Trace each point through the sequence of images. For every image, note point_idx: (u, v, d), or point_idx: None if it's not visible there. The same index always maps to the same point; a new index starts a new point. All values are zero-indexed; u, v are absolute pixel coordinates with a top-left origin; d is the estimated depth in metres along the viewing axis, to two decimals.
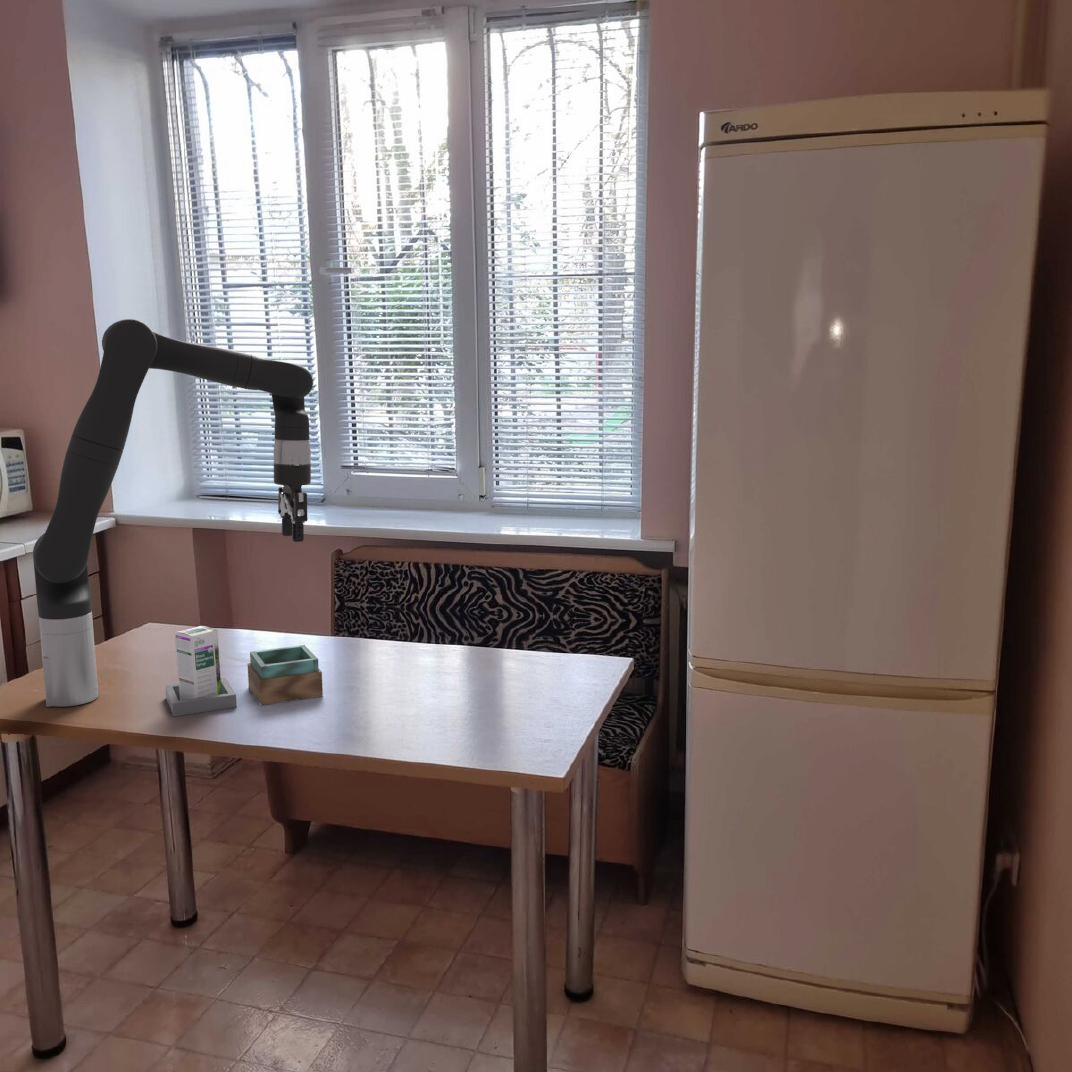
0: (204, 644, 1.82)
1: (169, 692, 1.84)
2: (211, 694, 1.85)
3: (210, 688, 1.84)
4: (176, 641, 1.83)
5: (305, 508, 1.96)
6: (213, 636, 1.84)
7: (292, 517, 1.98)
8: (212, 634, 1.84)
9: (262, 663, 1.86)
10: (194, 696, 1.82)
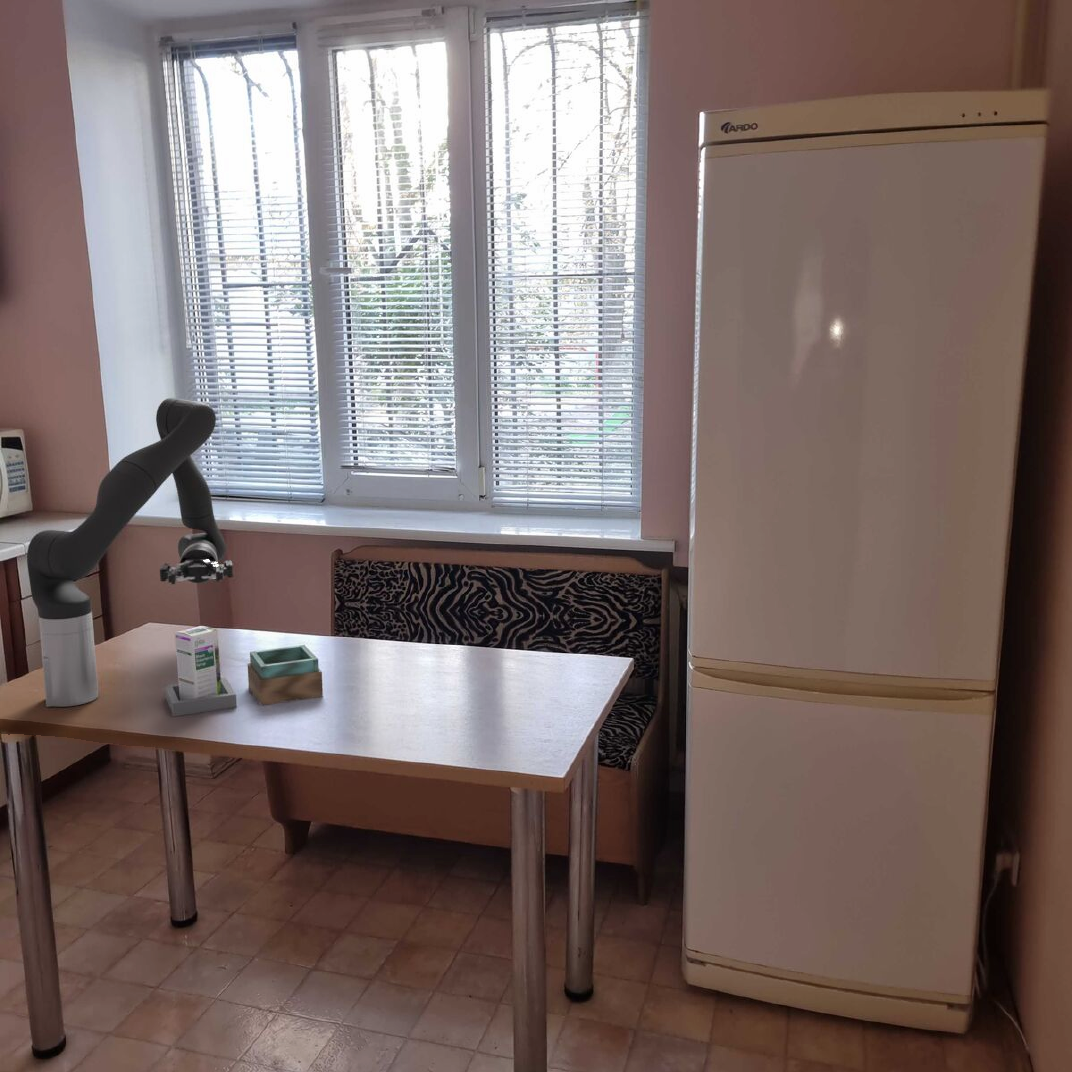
0: (205, 644, 1.82)
1: (169, 692, 1.84)
2: (211, 694, 1.85)
3: (210, 688, 1.84)
4: (176, 641, 1.83)
5: None
6: (213, 636, 1.84)
7: (219, 565, 2.00)
8: (212, 634, 1.84)
9: (262, 663, 1.86)
10: (194, 696, 1.82)
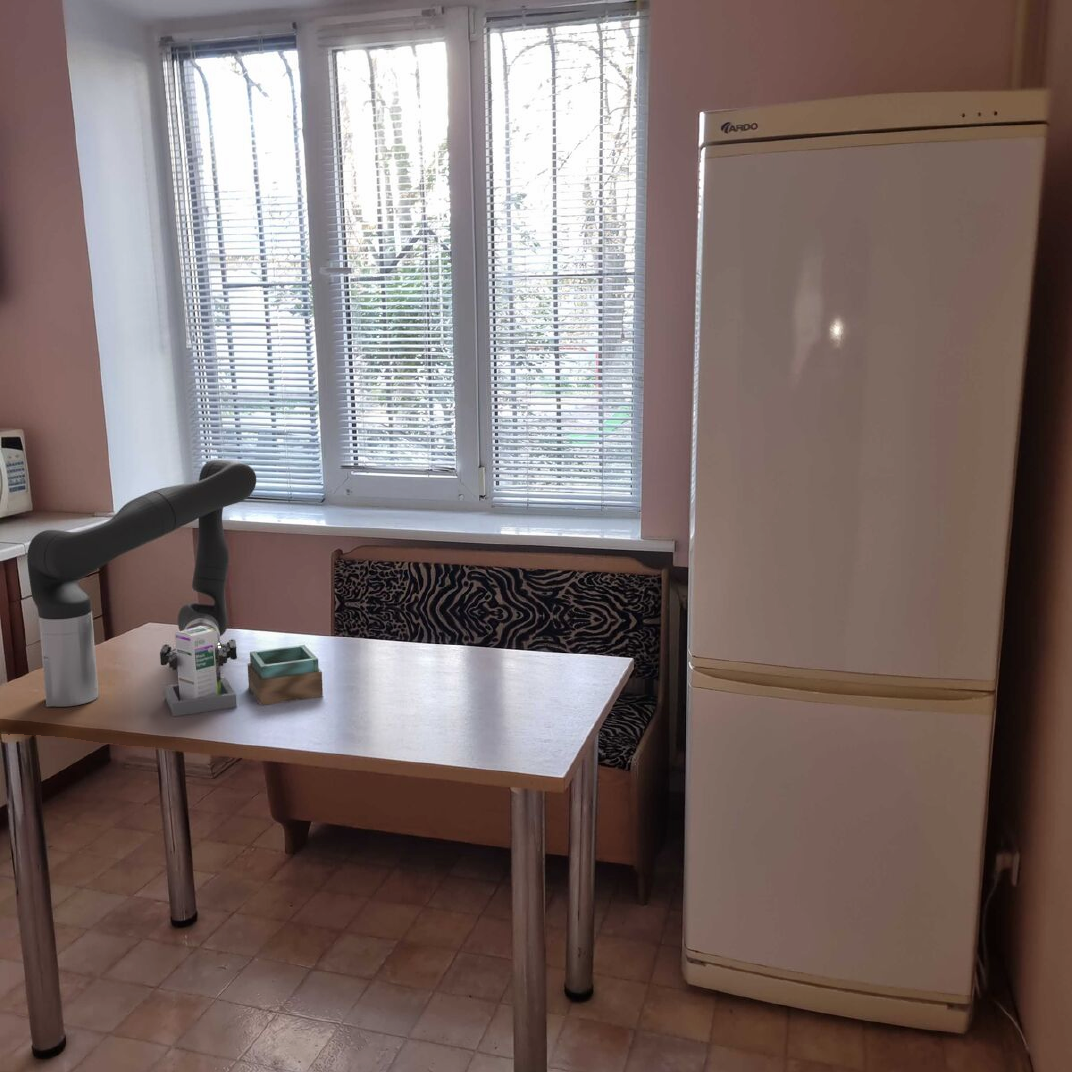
0: (205, 644, 1.82)
1: (169, 692, 1.84)
2: (211, 694, 1.85)
3: (210, 688, 1.84)
4: (176, 641, 1.83)
5: None
6: (213, 635, 1.84)
7: (222, 647, 1.89)
8: (212, 634, 1.84)
9: (262, 663, 1.86)
10: (194, 696, 1.82)
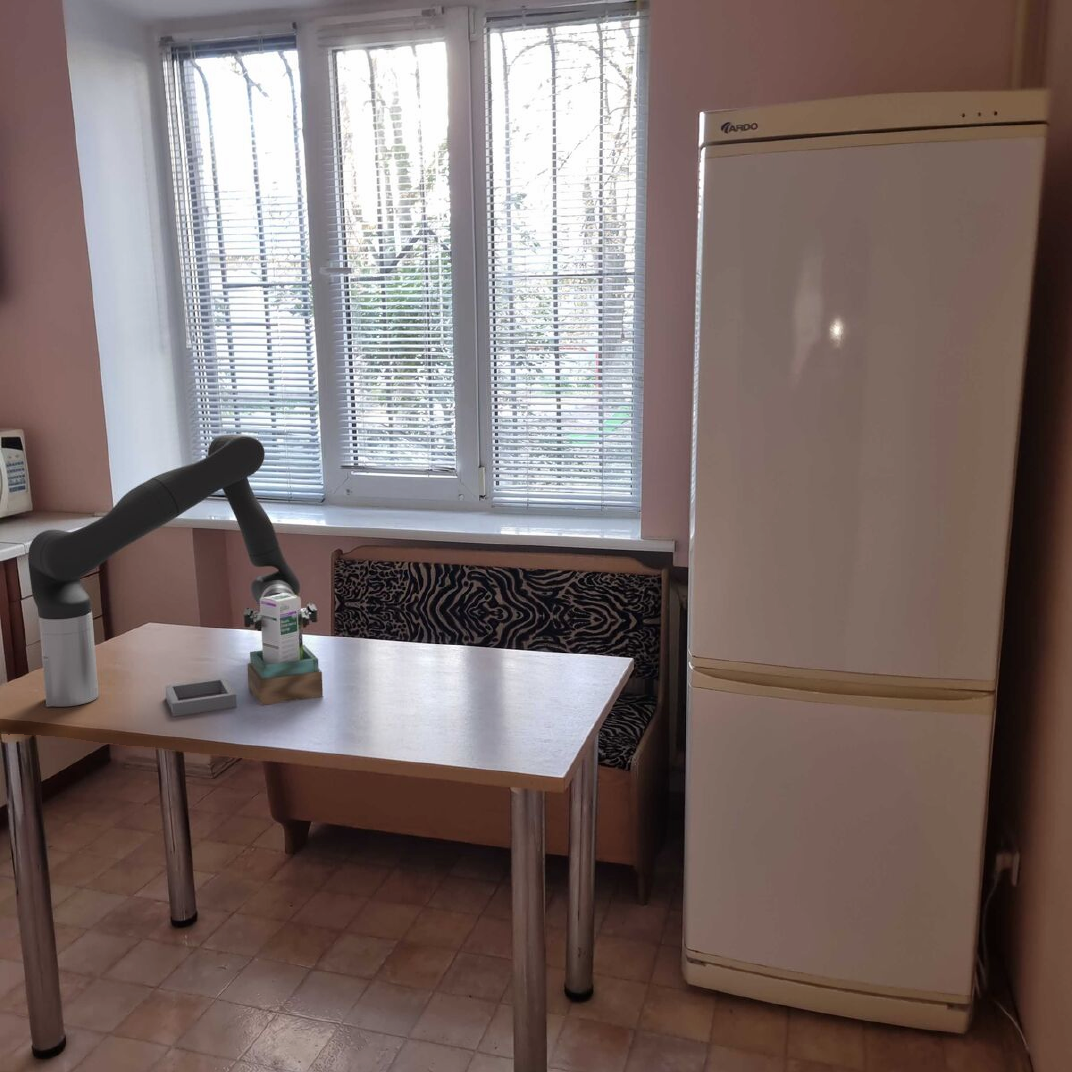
0: (289, 610, 1.88)
1: (169, 692, 1.84)
2: (294, 659, 1.90)
3: (293, 653, 1.90)
4: (261, 607, 1.89)
5: None
6: (297, 602, 1.89)
7: (304, 610, 1.94)
8: (295, 600, 1.89)
9: (262, 663, 1.86)
10: (278, 661, 1.88)
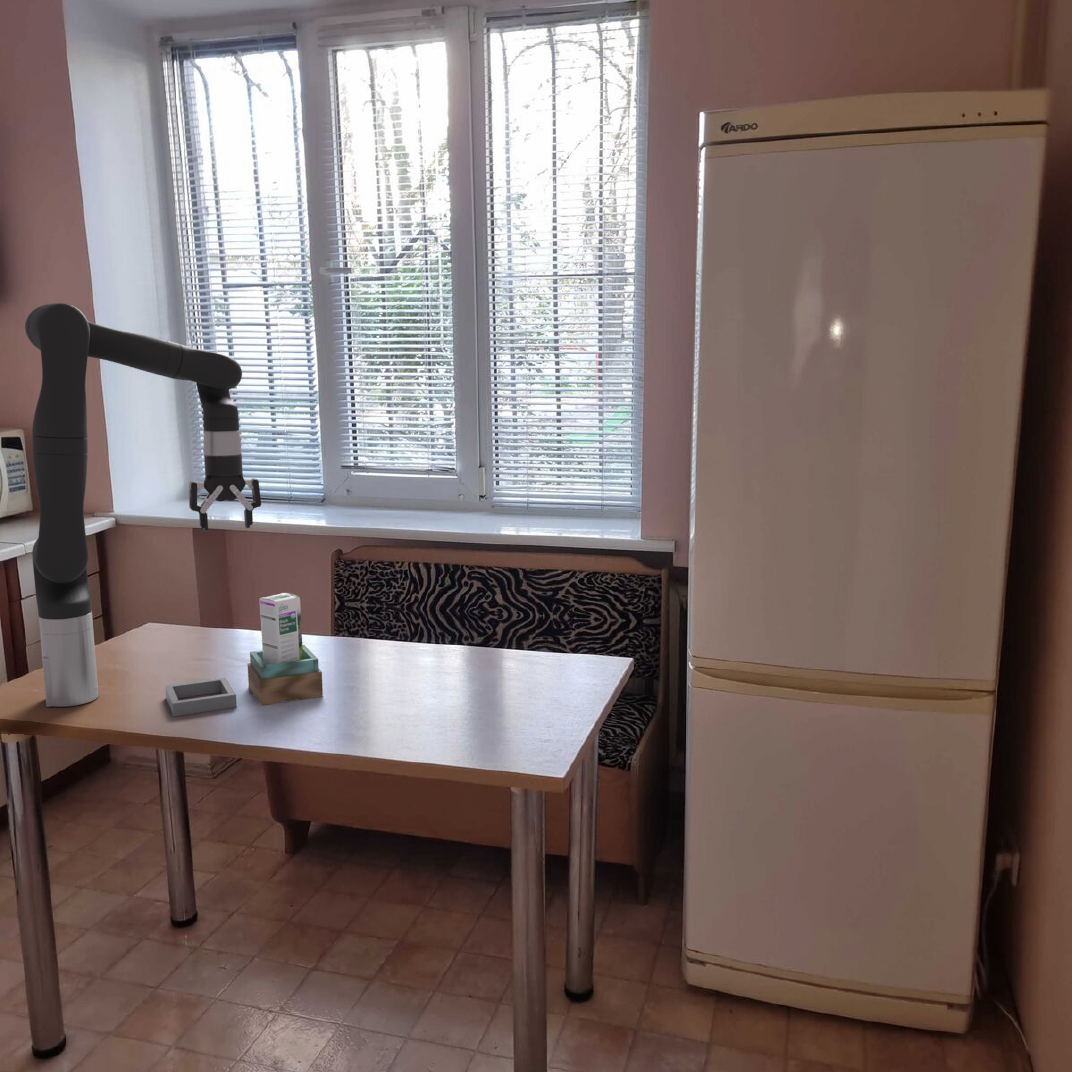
0: (288, 610, 1.88)
1: (169, 692, 1.84)
2: (293, 659, 1.90)
3: (292, 653, 1.90)
4: (260, 607, 1.89)
5: None
6: (296, 602, 1.89)
7: (249, 504, 2.04)
8: (295, 600, 1.89)
9: (262, 663, 1.86)
10: (277, 660, 1.88)
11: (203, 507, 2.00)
